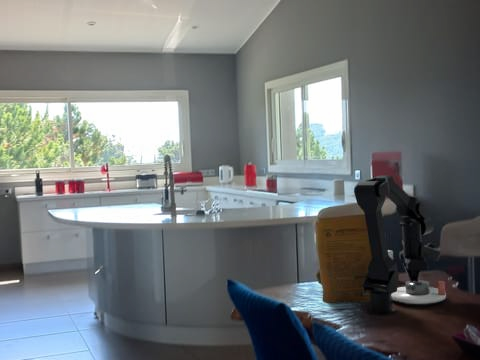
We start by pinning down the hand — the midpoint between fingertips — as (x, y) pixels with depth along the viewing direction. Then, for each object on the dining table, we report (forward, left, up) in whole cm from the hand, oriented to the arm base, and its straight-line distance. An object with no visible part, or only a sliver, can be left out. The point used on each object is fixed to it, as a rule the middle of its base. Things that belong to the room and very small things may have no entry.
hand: (414, 285), depth 182 cm
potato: (-7, +27, -4) cm, 28 cm away
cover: (-4, -3, -1) cm, 5 cm away
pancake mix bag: (-17, +14, -4) cm, 22 cm away
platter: (-4, -3, -2) cm, 6 cm away
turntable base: (-4, -3, -3) cm, 6 cm away
